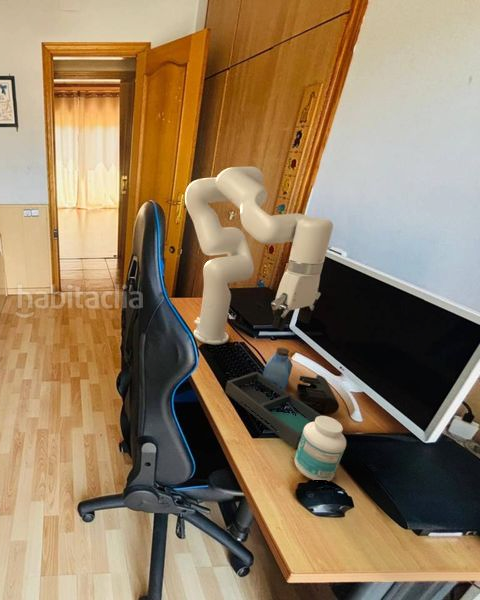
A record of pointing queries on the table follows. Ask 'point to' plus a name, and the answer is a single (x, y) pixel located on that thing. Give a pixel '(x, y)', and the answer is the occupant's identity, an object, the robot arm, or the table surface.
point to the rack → (260, 404)
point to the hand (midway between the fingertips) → (290, 324)
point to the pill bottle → (320, 448)
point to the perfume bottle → (279, 368)
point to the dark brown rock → (317, 395)
